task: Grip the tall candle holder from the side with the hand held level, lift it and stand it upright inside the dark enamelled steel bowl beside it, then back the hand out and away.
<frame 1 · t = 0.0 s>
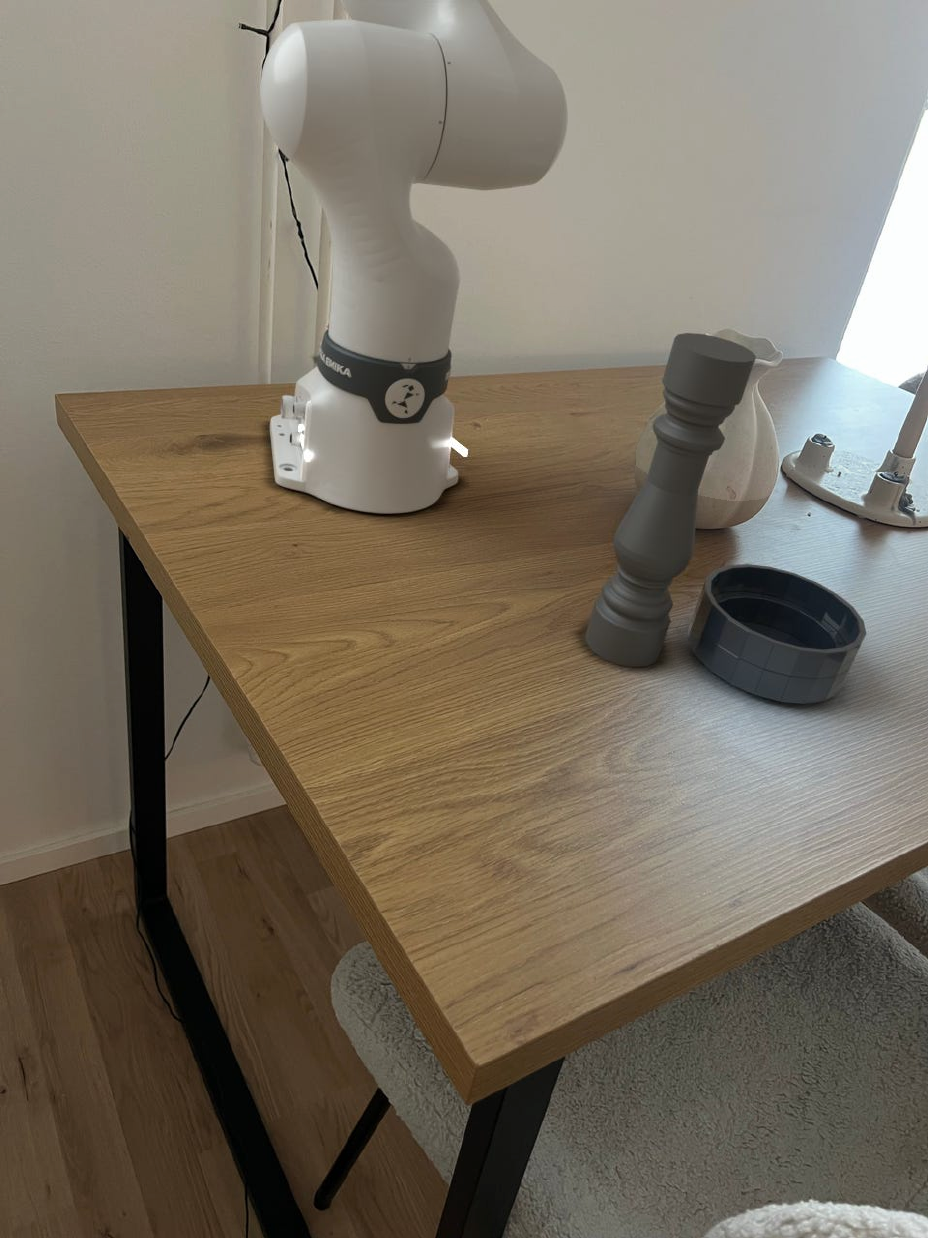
bowl: (762, 660, 84), on the table
candle holder: (621, 646, 82), on the table
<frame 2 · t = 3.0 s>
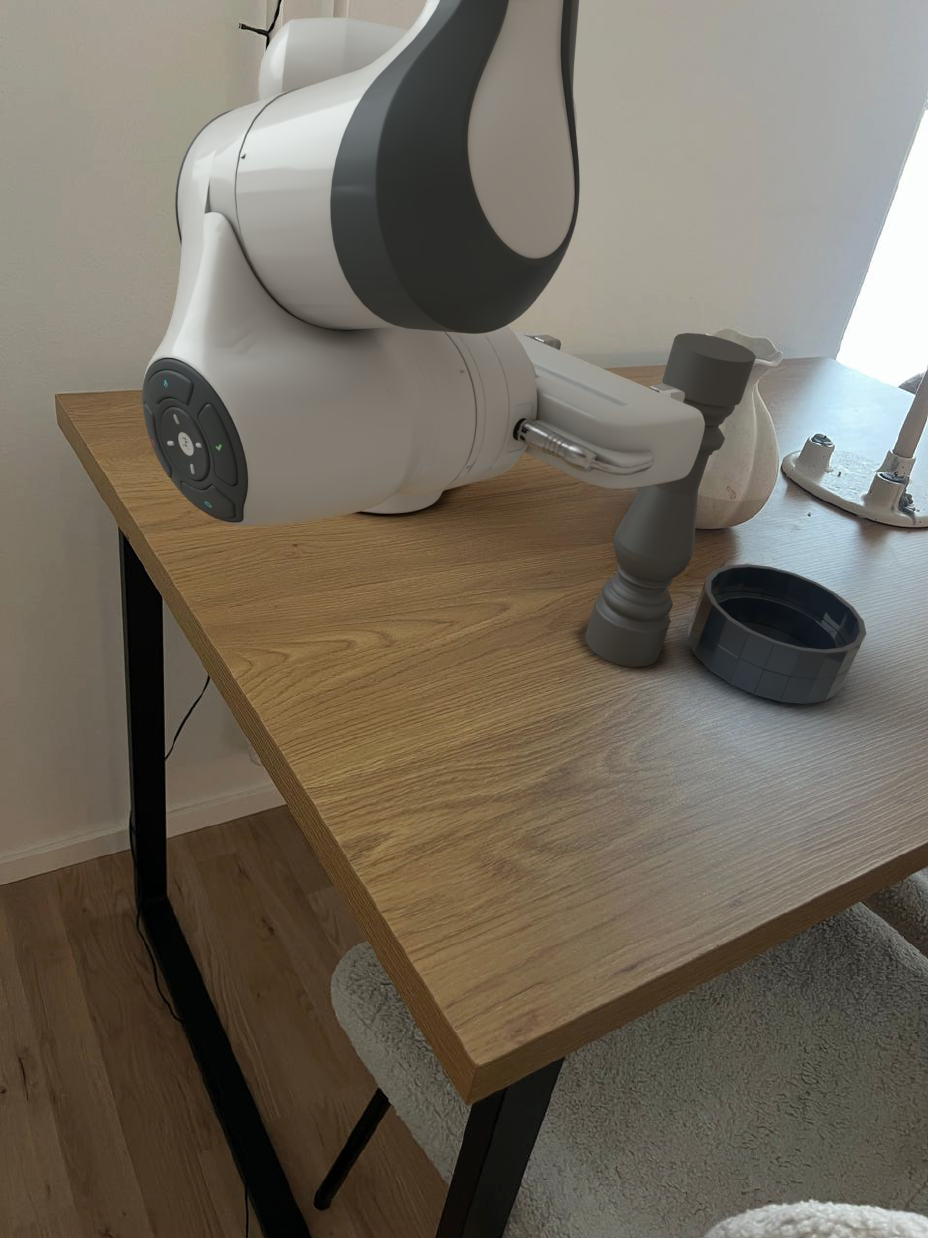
hand: (609, 373, 61), 25 cm above the table, tool horizontal, fingers open, 8 cm apart
nothing on the table moved.
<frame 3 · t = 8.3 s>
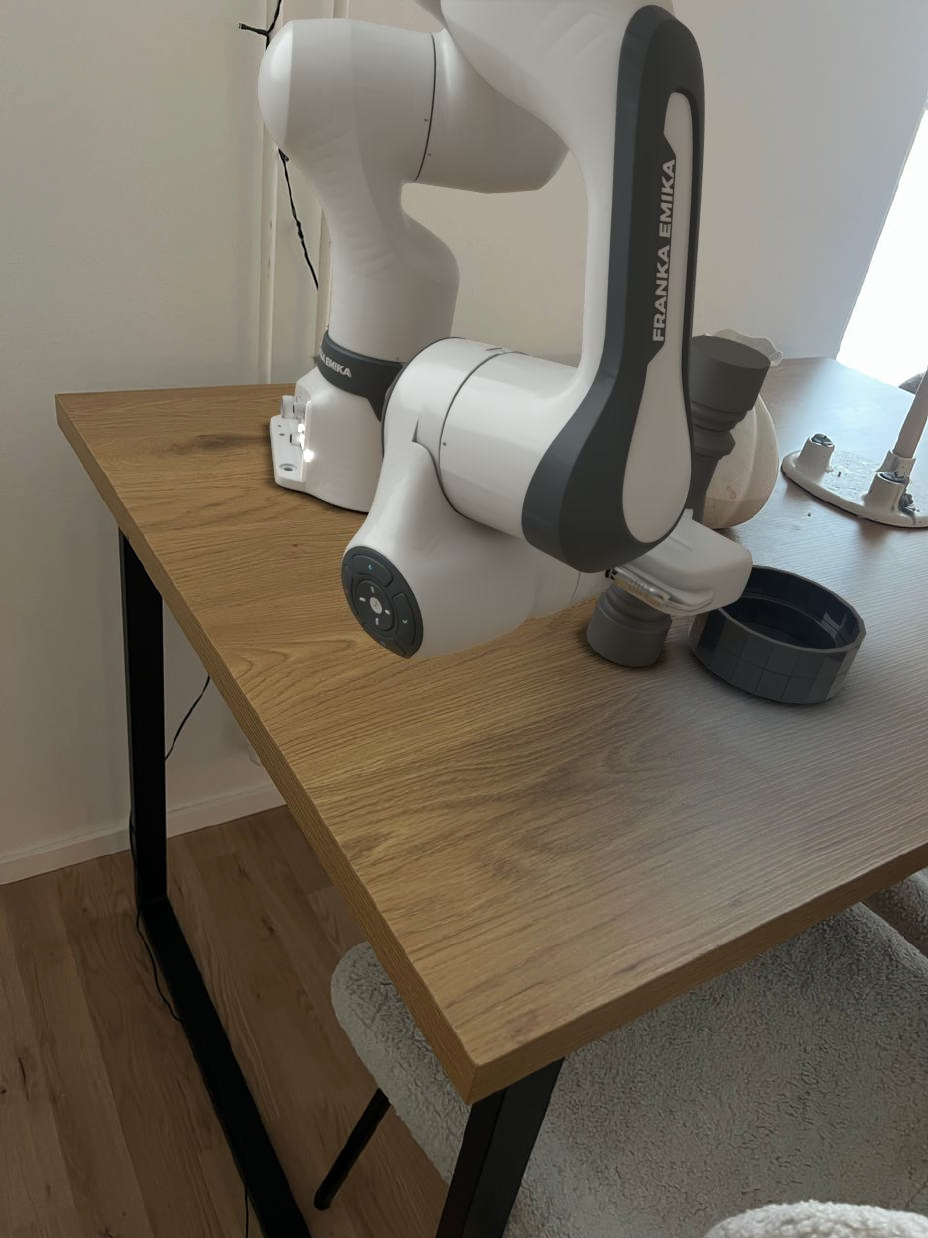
hand: (672, 499, 76), 13 cm above the table, tool horizontal, fingers closed on candle holder, 2 cm apart
candle holder: (622, 645, 82), on the table, touching gripper
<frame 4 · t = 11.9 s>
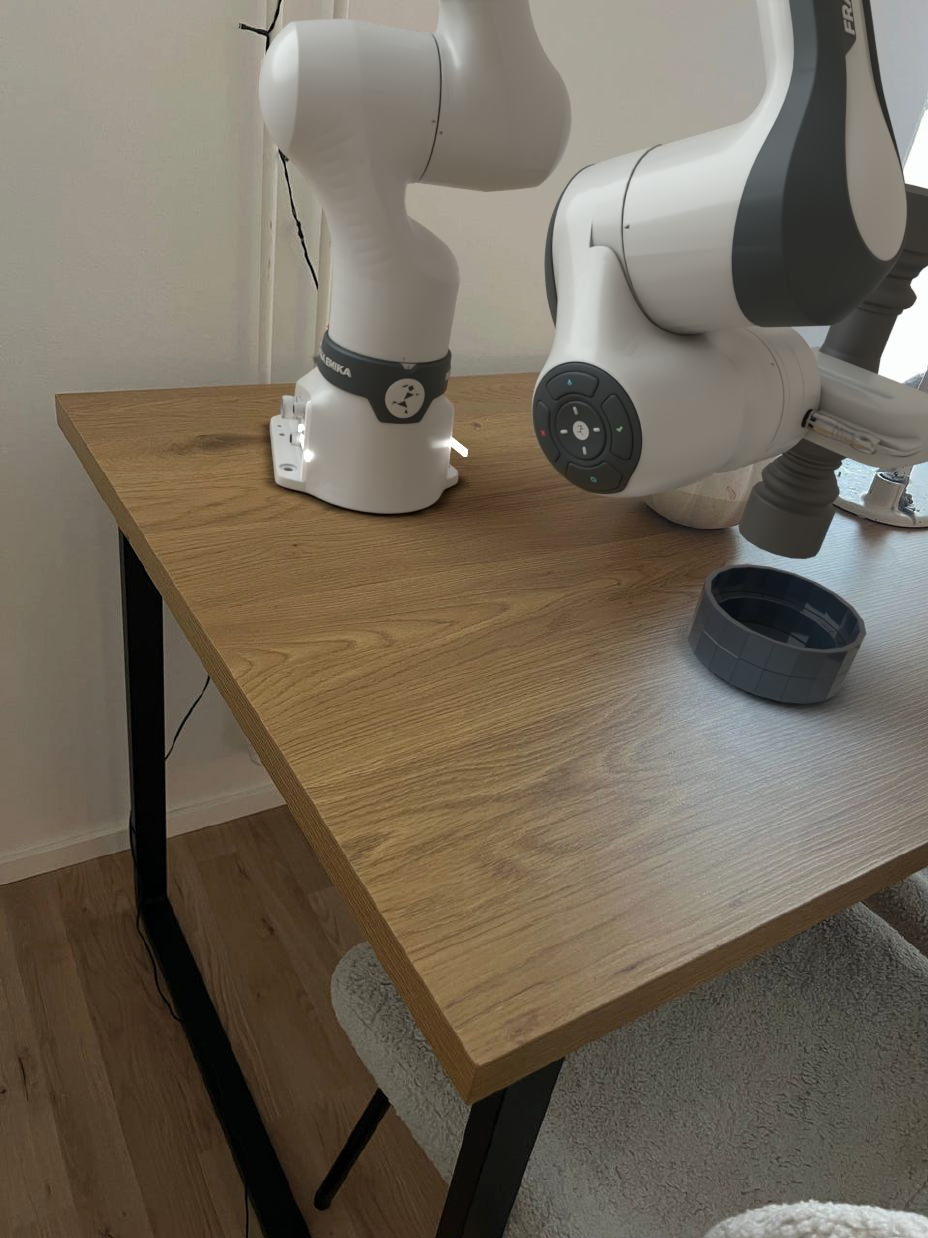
hand: (843, 368, 71), 25 cm above the table, tool horizontal, fingers closed on candle holder
candle holder: (777, 540, 76), point 12 cm above the table, touching gripper
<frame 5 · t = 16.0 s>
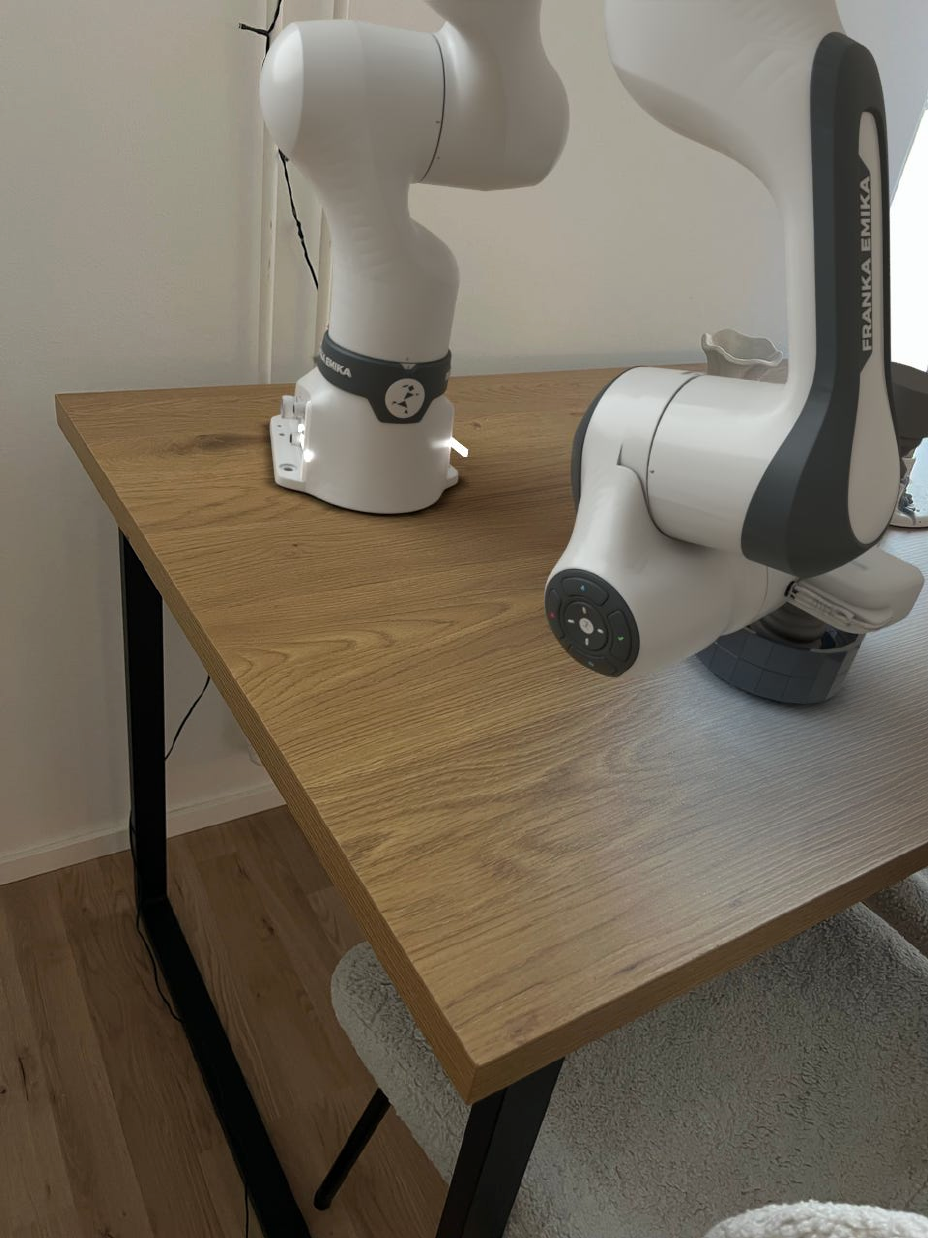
hand: (824, 517, 78), 13 cm above the table, tool horizontal, fingers open, 6 cm apart
candle holder: (767, 664, 83), point 1 cm above the table, touching bowl, gripper
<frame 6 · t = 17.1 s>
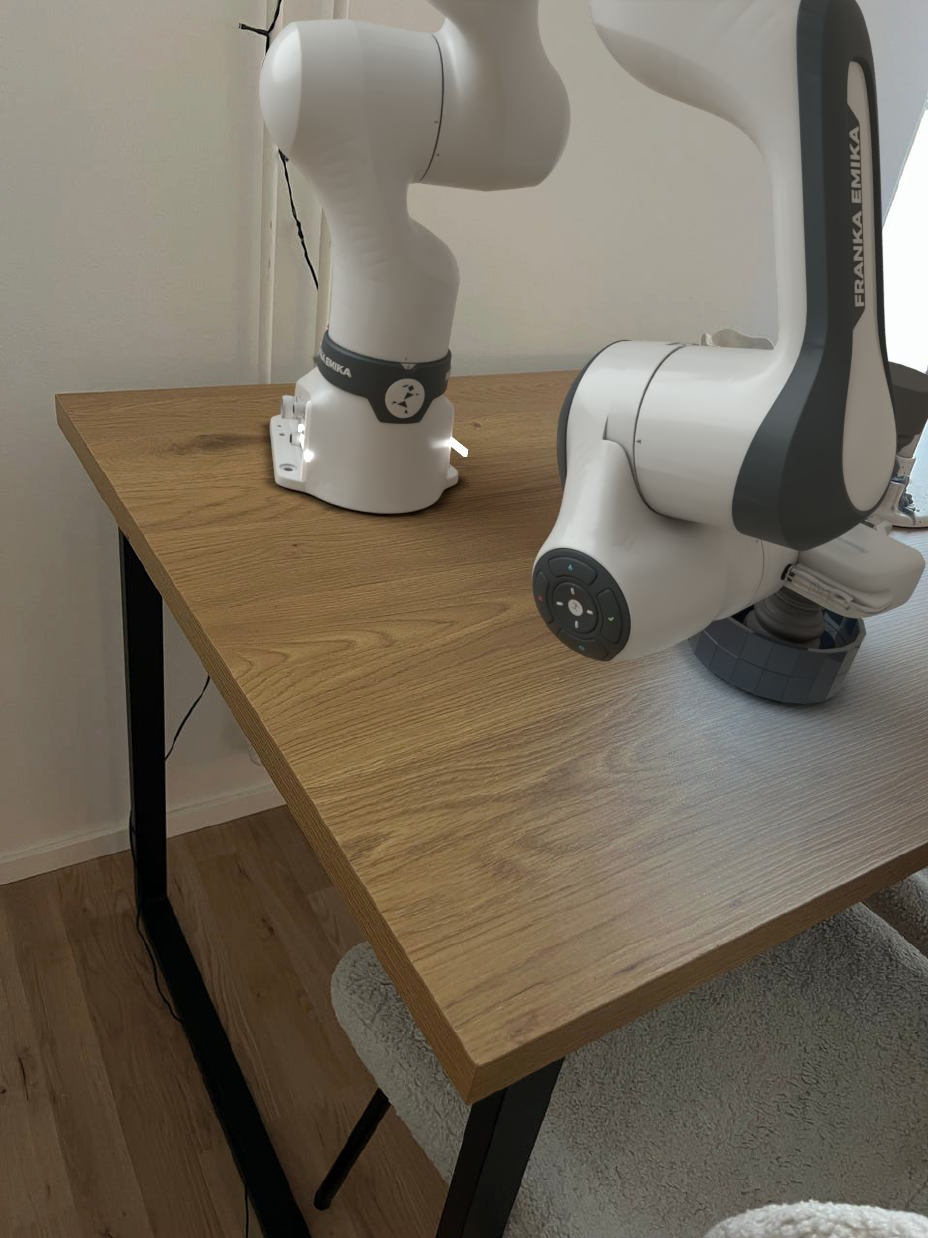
hand: (822, 501, 76), 15 cm above the table, tool horizontal, fingers open, 8 cm apart
candle holder: (767, 665, 83), point 1 cm above the table, touching bowl
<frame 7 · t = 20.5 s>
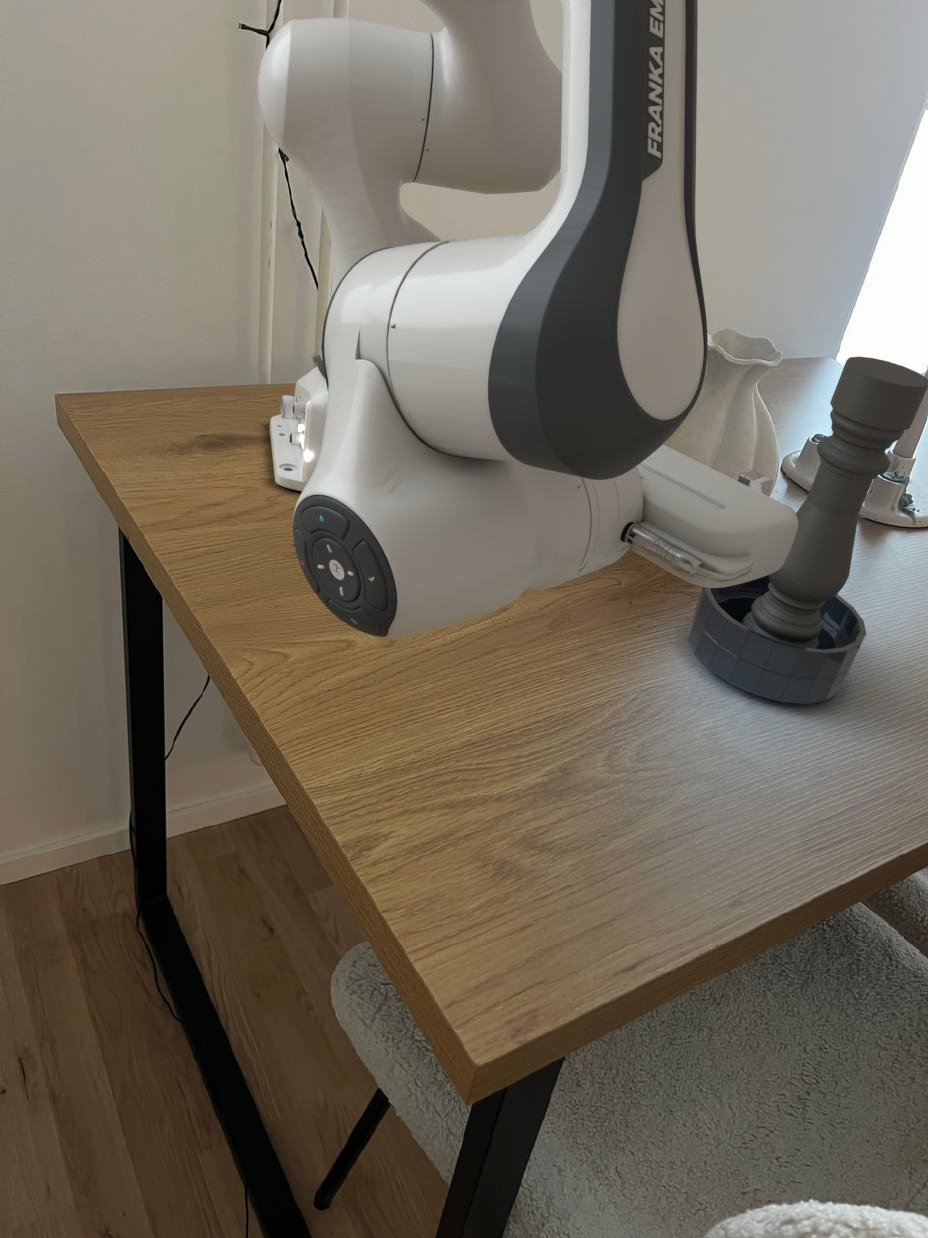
hand: (697, 455, 65), 20 cm above the table, tool horizontal, fingers open, 8 cm apart
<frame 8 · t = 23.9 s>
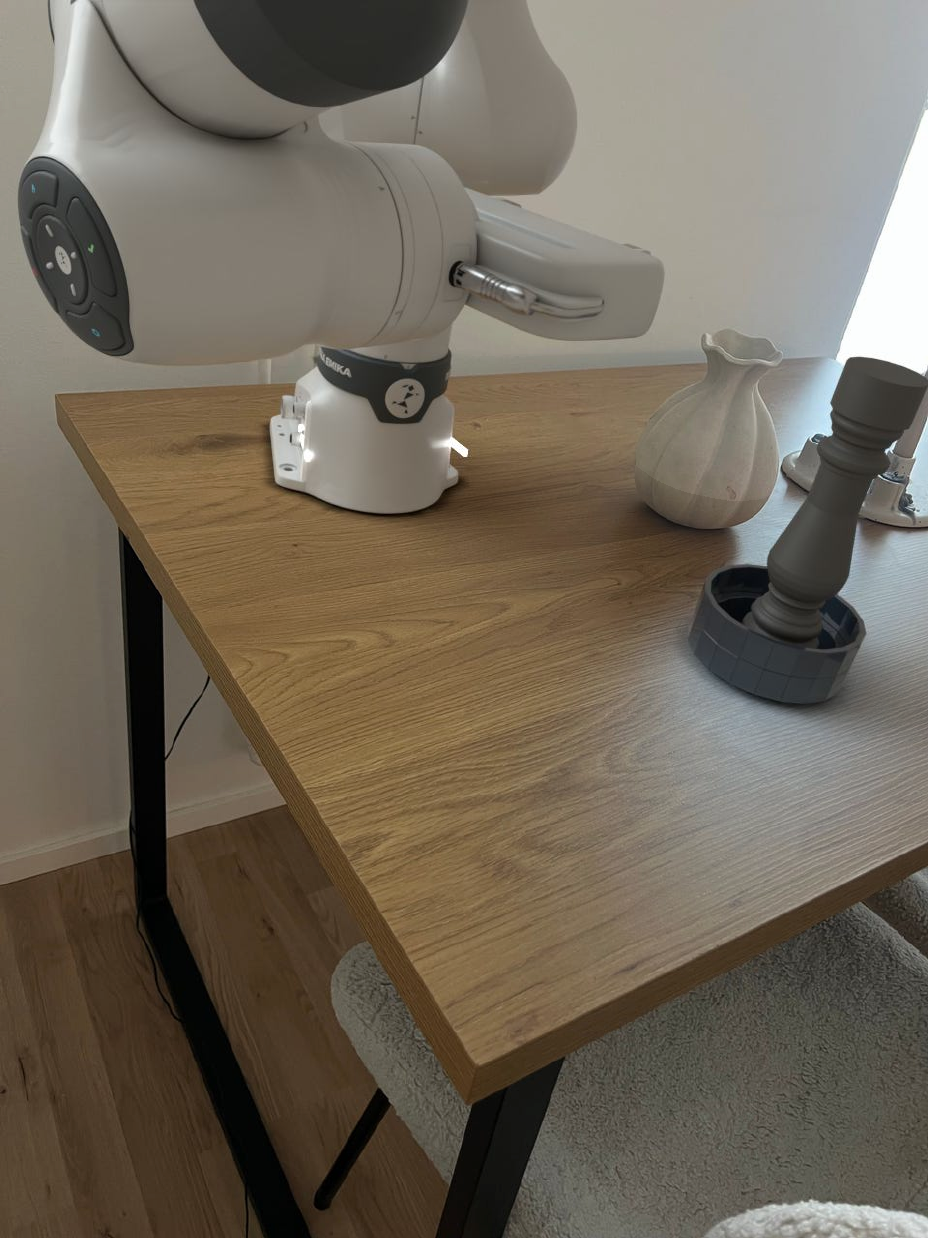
hand: (572, 239, 56), 32 cm above the table, tool horizontal, fingers open, 8 cm apart
nothing on the table moved.
at the end: candle holder inside the target area in the bowl (1.4 cm from its centre), point 0.4 cm above the bowl's base; candle holder tilted 0°; the gripper is holding nothing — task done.
